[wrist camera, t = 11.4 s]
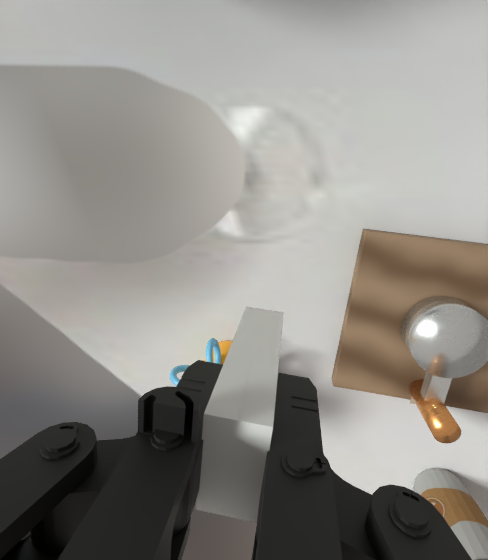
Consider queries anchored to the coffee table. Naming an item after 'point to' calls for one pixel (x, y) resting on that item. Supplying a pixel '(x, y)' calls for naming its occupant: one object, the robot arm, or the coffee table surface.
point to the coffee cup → (456, 509)
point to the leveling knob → (443, 355)
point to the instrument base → (394, 305)
